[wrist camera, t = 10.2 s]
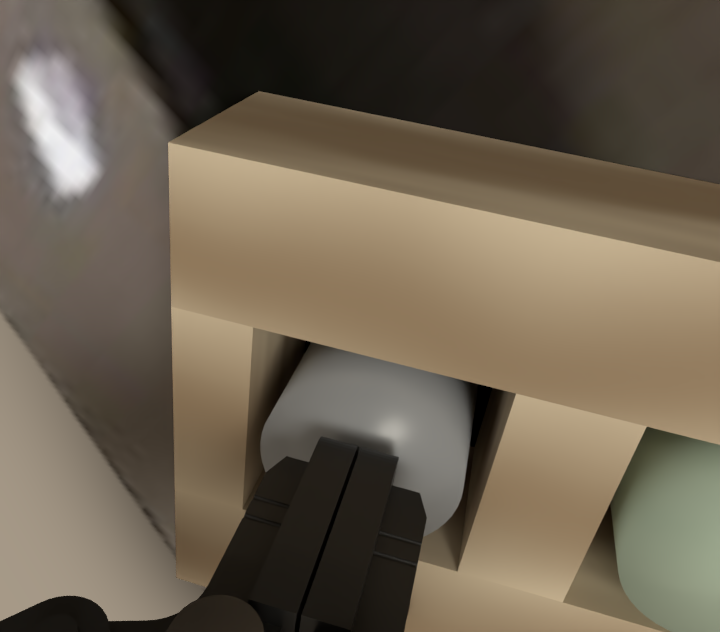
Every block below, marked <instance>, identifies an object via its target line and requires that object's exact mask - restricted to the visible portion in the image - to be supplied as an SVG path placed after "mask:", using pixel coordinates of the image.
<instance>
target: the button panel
mask: <svg viewBox="0 0 720 632" xmlns="http://www.w3.org/2000/svg"><path fill="white" fill-rule="evenodd" d="M168 154H169V208H170V262H171V315H172V369H173V423H174V476H175V530H176V576H177V577H176V578H179V579H182V580H185V581H188V582H192V583H195V584H198V585H201V586H204V587H207V586H208V584H209V582H210V580H211V578H212V576H213V574H214V573H215V571H216V569H217V567H218V565H219V563H220V561H221V559H222V557H223V555H224V553H225V551H226V549H227V547H228V545H229V543H230V541H231V539H232V537H233V535H234V533H235V532H236V530H237V528H238V526H239V524H240V522H241V520H242V518H244V515H245V512H246V510H247V508H248V506H249V504H250V502H251V500H252V499H253V498H254V494H255V492H256V491H257V489H258V487H259V485H260V483H261V481H262V479H263V477H264V475H265V473H266V472H265V469H264V466H263V463H262V458H261V447H260V442H261V436H262V431H263V428H264V425H265V423H266V421H267V419H268V417H269V416H270V414H271V412H272V410H273V409H274V407H275V405H276V403H277V402H278V400H279V398H280V396H281V394H282V393H283V391H284V389H285V387H286V386H287V384H288V382H289V380H290V379H291V377H292V375H293V373H294V372H295V370H296V368H297V366H298V364H299V363H300V361H301V359H302V357H303V356H304V351H305V342H306V341H309V342H313V343H317V344H321V345H325V346H329V347H333V348H337V349H341V350H345V351H349V352H353V353H357V354H361V355H365V356H369V357H373V358H377V359H381V360H385V361H389V362H393V363H397V364H401V365H405V366H408V367H412V368H416V369H420V370H424V371H428V372H432V373H436V374H440V375H444V376H448V377H452V378H456V379H460V380H464V381H468V382H472V383H476V384H480V385H484V386H488V387H492V391H491V394H490V398H489V401H488V404H487V407H486V411H485V414H484V417H483V421H482V424H481V427H480V430H479V434H478V437H477V440H476V444H475V447H473V446H470V447H469V454H468V461H467V468H466V475H465V482H464V488H463V493H462V498H461V500H460V503H459V505H458V507H457V509H456V510H455V512H454V514H453V515H452V516H451V517H450V518H449V520H448V521H447V522H446V523H445V524H443V525H442V526H441V527H440V528H438V529H437V530H435V531H434V532H432V533H430V534H428V535H426V536H424V537H423V540H422V544H421V550H420V555H419V560H418V565H417V570H416V575H415V580H414V585H413V590H412V595H411V600H410V605H409V610H408V615H407V620H406V625H405V630H404V632H671V631H669V630H667V629H665V628H663V627H661V626H660V625H658V624H656V623H655V622H653V621H652V620H650V619H649V618H647V617H646V616H645V615H644V614H643V613H642V612H640V611H639V610H638V609H637V608H636V607H635V606H634V604H633V603H632V602H631V601H630V600H629V598H628V596H627V595H626V593H625V592H624V590H623V587H622V585H621V582H620V578H619V574H618V566H617V557H616V549H615V540H614V531H613V522H612V513H611V504H610V502H611V500H612V498H613V496H614V494H615V492H616V490H617V488H618V486H619V484H620V481H621V479H622V477H623V475H624V473H625V471H626V469H627V467H628V465H629V463H630V461H631V458H632V456H633V454H634V452H635V450H636V448H637V446H638V444H639V442H640V440H641V438H642V436H643V433H644V431H645V429H646V427H651V428H654V429H658V430H662V431H666V432H670V433H674V434H678V435H682V436H686V437H690V438H694V439H698V440H702V441H706V442H710V443H714V444H718V445H720V184H715V183H710V182H705V181H700V180H695V179H690V178H685V177H680V176H675V175H670V174H665V173H661V172H656V171H651V170H646V169H641V168H636V167H631V166H626V165H621V164H616V163H611V162H606V161H601V160H596V159H591V158H586V157H581V156H577V155H572V154H567V153H562V152H557V151H552V150H547V149H542V148H537V147H532V146H527V145H522V144H517V143H512V142H507V141H502V140H497V139H492V138H488V137H483V136H478V135H473V134H468V133H463V132H458V131H453V130H448V129H443V128H438V127H433V126H428V125H423V124H418V123H413V122H408V121H404V120H399V119H394V118H389V117H384V116H379V115H374V114H369V113H364V112H359V111H354V110H349V109H344V108H339V107H334V106H329V105H324V104H319V103H315V102H310V101H305V100H300V99H295V98H290V97H285V96H280V95H275V94H270V93H265V92H260V91H258V92H257V93H255V94H253V95H251V96H249V97H248V98H246V99H244V100H242V101H241V102H239V103H237V104H235V105H234V106H232V107H230V108H228V109H227V110H225V111H223V112H221V113H219V114H218V115H216V116H214V117H212V118H211V119H209V120H207V121H205V122H204V123H202V124H200V125H198V126H196V127H195V128H193V129H191V130H189V131H188V132H186V133H184V134H182V135H181V136H179V137H177V138H175V139H174V140H172V141H170V142H168Z"/></svg>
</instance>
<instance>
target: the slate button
mask: <svg viewBox="0 0 720 632" xmlns="http://www.w3.org/2000/svg"><path fill="white" fill-rule="evenodd" d="M477 392H478V384H476V383H472V382H468V381H464V380H460V379H456V378H452V377H448V376H444V375H440V374H436V373H432V372H428V371H424V370H420V369H416V368H412V367H408V366H405V365H401V364H397V363H393V362H389V361H385V360H381V359H377V358H373V357H369V356H365V355H361V354H357V353H353V352H349V351H345V350H341V349H337V348H333V347H329V346H325V345H321V344H317V343H313V342H311V343H310V345H309V347H308V349H307V350H306V352H305V354H304V356H303V357H302V359H301V361H300V363H299V364H298V366H297V368H296V370H295V372H294V373H293V375H292V377H291V379H290V380H289V382H288V384H287V386H286V387H285V389H284V391H283V393H282V394H281V396H280V398H279V400H278V402H277V403H276V405H275V407H274V409H273V410H272V412H271V414H270V416H269V417H268V419H267V421H266V423H265V425H264V428H263V431H262V436H261V442H260V447H261V458H262V463H263V466H264V469H265V472H267V471H268V470H269V469H271V468H272V467H273V466H275V465H276V464H277V463H278V462H280V461H281V460H282V459H283V458H285V457H286V456H288V457H292V458H295V459H299V460H302V461H306V462H309V461H310V458H311V456H312V454H313V451H314V449H315V447H316V445H317V442H318V440H319V439H320V437H321V436H323V437H327V438H330V439H334V440H338V441H341V442H345V443H349V444H352V445H356V446H359V451H360V449H361V447H364V448H368V449H371V450H375V451H379V452H382V453H386V454H390V455H394V456H397V457H399V460H398V465H397V469H396V474H395V478H394V483H393V486H397V487H400V488H404V489H408V490H411V491H415V492H418V493H420V495H421V498H422V502H423V506H424V509H425V513H426V516H427V520H426V525H425V530H424V535H423V537H424V536H426V535H428V534H430V533H432V532H434V531H435V530H437V529H438V528H440V527H441V526H442V525H443V524H445V523H446V522H447V521H448V520H449V518H450V517H451V516H452V515H453V514H454V512H455V510H456V509H457V507H458V505H459V503H460V500H461V498H462V493H463V488H464V482H465V475H466V468H467V461H468V454H469V447H470V441H471V434H472V427H473V420H474V413H475V406H476V400H477ZM359 451H358V454H359Z"/></svg>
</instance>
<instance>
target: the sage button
mask: <svg viewBox="0 0 720 632" xmlns="http://www.w3.org/2000/svg"><path fill="white" fill-rule="evenodd" d="M610 504H611V513H612V522H613V531H614V540H615V549H616V557H617V566H618V574H619V578H620V582H621V585H622V587H623V590H624V592H625V593H626V595H627V596H628V598H629V600H630V601H631V602H632V603H633V604H634V606H635V607H636V608H637V609H638V610H639V611H640V612H642V613H643V614H644V615H645V616H646V617H647V618H649V619H650V620H652V621H653V622H655V623H656V624H658V625H660V626H661V627H663V628H665V629H667V630H669V631H671V632H720V445H718V444H714V443H710V442H706V441H702V440H698V439H694V438H690V437H686V436H682V435H678V434H674V433H670V432H666V431H662V430H658V429H654V428H651V427H646V429H645V431H644V433H643V436H642V438H641V440H640V442H639V444H638V446H637V448H636V450H635V452H634V454H633V456H632V458H631V461H630V463H629V465H628V467H627V469H626V471H625V473H624V475H623V477H622V479H621V481H620V484H619V486H618V488H617V490H616V492H615V494H614V496H613V498H612V500H611V502H610Z"/></svg>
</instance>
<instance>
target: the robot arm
mask: <svg viewBox="0 0 720 632" xmlns="http://www.w3.org/2000/svg"><path fill="white" fill-rule="evenodd" d="M358 451H359V446H356V445H352V444H349V443H345V442H341V441H338V440H334V439H330V438H327V437H323V436H321V437H320V439H319V440H318V442H317V445H316V447H315V449H314V451H313V454H312V456H311V458H310V461H309V462H306V461H302V460H299V459H295V458H292V457H288V456H286V457H285V458H283V459H282V460H281V461H280V462H278V463H277V464H276V465H275V466H273V467H272V468H271V469H269V470H268V471H267V472H266V473H265V475H264V477H263V479H262V481H261V483H260V485H259V487H258V489H257V491H256V492H255V494H254V498H253V499H252V500H251V502H250V504H249V506H248V508H247V510H246V512H245V515H244V518H242V520H241V522H240V524H239V526H238V528H237V530H236V532H235V533H234V535H233V537H232V539H231V541H230V543H229V545H228V547H227V549H226V551H225V553H224V555H223V557H222V559H221V561H220V563H219V565H218V567H217V569H216V571H215V573H214V574H213V576H212V578H211V580H210V582H209V584H208V586H207V588H206V589H205V591H204V592H203V594H202V595H201V596H200V597H199V598H198V599H197V600H196V601H194V602H192V603H190V604H189V605H187V606H186V607H184V608H183V609H182V610H181V611H180V612H179V613H177V614H175V615H172V616H169V617H167V618H163V619H158V620H148V621H108V619H107V616H106V614H105V613H104V611H103V609H102V608H101V607H100V606H98V604H96V603H94V602H93V601H91V600H89V599H86V598H83V597H78V596H61V597H56V598H52V599H48V600H46V601H43V602H41V603H39V604H36V605H34V606H32V607H30V608H28V609H26V610H24V611H21V612H19V613H17V614H15V615H13V616H11V617H8V618H6V619H4V620H2V621H0V632H404V630H405V625H406V620H407V615H408V610H409V605H410V600H411V595H412V590H413V585H414V580H415V575H416V570H417V565H418V560H419V555H420V550H421V544H422V540H423V535H424V530H425V525H426V520H427V516H426V513H425V509H424V506H423V502H422V498H421V495H420V493H418V492H415V491H411V490H408V489H404V488H400V487H397V486H393V483H394V478H395V474H396V469H397V465H398V460H399V457H397V456H394V455H390V454H386V453H382V452H379V451H375V450H371V449H368V448H364V447H361V449H360V451H359V454H358Z"/></svg>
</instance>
